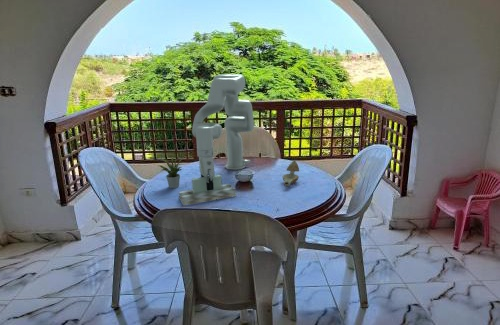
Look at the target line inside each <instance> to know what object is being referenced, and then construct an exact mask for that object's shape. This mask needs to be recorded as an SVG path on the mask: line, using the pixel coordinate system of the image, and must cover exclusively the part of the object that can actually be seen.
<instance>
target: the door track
mask: <svg viewBox="0 0 500 325" xmlns="http://www.w3.org/2000/svg"><path fill="white" fill-rule="evenodd" d="M232 196H234V197H237V193H236V187H232V184H231V183H225V184H222V189H221V190H215V191H208V192H202V193H196V194H193V189H188V190H181V191H179V192H178V199H179V200H180V202H181V204H182V205H183V206H187V205H194V204H199V203H205V202H210V201H216V199H217V200H221V199H227V197H228V198H233V197H232Z"/></svg>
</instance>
